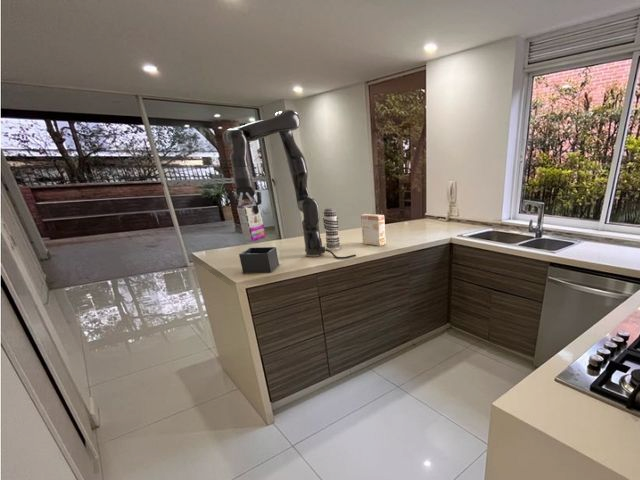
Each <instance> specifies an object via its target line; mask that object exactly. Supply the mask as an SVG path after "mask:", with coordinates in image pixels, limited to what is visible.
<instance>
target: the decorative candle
mask: <svg viewBox="0 0 640 480" xmlns="http://www.w3.org/2000/svg"><path fill="white" fill-rule="evenodd" d="M322 212H323V218H322V223H323V228H324V231H325V242H326V243H325V245H326V250H329V251H335V250H340V249H341V245H340V244H341V243H340V236H339V226H338V225H339V223H338V222H339V221H338V220H339V217H338V216H337V210H336V209H335V208H334V207H327V208H324V209H323V211H322Z"/></svg>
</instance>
